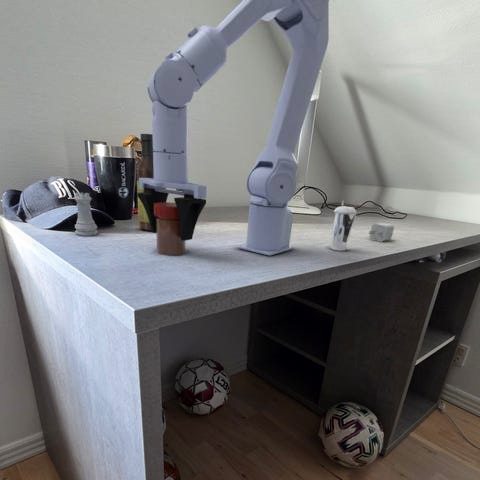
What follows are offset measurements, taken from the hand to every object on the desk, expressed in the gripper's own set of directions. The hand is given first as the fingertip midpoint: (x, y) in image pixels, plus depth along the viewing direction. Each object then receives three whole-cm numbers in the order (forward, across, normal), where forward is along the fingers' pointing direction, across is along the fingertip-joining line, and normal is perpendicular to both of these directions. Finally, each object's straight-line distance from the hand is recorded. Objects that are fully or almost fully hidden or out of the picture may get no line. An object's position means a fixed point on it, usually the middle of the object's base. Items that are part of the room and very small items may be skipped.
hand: (171, 235), depth 63 cm
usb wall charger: (+3, +23, +51) cm, 56 cm away
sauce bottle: (+3, -18, +11) cm, 21 cm away
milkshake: (+3, +20, +31) cm, 37 cm away
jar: (+3, 0, 0) cm, 3 cm away
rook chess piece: (+3, -21, -4) cm, 22 cm away
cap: (-5, 0, 0) cm, 5 cm away
